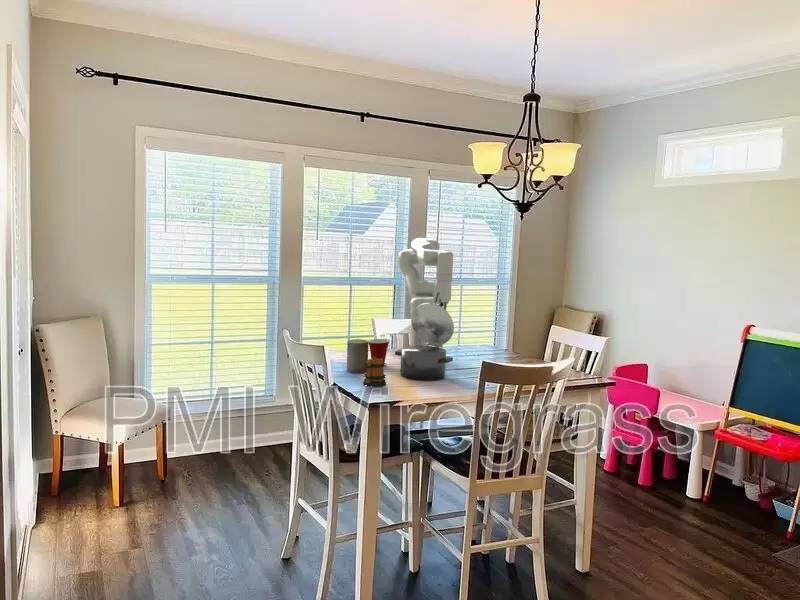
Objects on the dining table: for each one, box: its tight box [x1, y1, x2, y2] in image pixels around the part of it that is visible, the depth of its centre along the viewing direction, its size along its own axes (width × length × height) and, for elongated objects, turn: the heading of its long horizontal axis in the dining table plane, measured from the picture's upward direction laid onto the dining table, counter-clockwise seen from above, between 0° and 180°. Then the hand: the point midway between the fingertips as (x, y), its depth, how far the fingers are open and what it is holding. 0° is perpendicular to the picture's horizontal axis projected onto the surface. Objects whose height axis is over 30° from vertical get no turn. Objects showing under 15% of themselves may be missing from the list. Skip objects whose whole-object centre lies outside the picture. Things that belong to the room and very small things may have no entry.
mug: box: [362, 357, 387, 388], centre depth 259 cm, size 13×10×12 cm
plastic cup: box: [367, 338, 391, 363], centre depth 300 cm, size 11×11×12 cm
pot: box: [394, 345, 454, 382], centre depth 281 cm, size 26×20×12 cm
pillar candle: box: [346, 338, 369, 374], centre depth 284 cm, size 10×10×15 cm
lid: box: [410, 303, 455, 348], centre depth 286 cm, size 21×22×3 cm
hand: (441, 316), depth 293 cm, fingers closed
